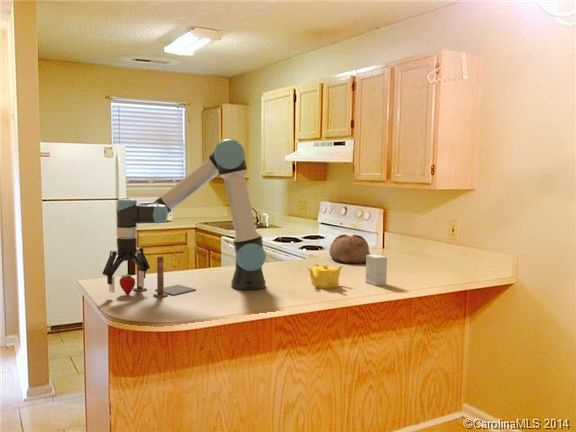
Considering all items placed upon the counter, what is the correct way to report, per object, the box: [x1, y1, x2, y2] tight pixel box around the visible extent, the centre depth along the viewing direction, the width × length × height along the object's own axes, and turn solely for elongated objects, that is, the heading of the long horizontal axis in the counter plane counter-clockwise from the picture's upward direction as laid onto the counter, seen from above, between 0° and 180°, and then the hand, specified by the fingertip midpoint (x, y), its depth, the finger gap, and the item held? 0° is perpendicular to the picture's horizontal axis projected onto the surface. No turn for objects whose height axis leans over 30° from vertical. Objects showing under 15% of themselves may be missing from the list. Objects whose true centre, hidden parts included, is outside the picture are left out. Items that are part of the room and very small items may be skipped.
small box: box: [365, 254, 388, 287], centre depth 233 cm, size 8×6×13 cm
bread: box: [328, 234, 371, 264], centre depth 291 cm, size 26×23×15 cm
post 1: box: [132, 252, 148, 293], centre depth 210 cm, size 4×4×16 cm
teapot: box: [306, 262, 344, 290], centre depth 227 cm, size 15×14×10 cm
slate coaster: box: [154, 284, 197, 296], centre depth 212 cm, size 12×12×1 cm
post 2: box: [152, 256, 169, 299], centre depth 202 cm, size 4×4×16 cm
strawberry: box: [119, 270, 136, 296], centre depth 203 cm, size 6×8×10 cm
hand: (126, 289), depth 203 cm, fingers open, 13 cm apart
